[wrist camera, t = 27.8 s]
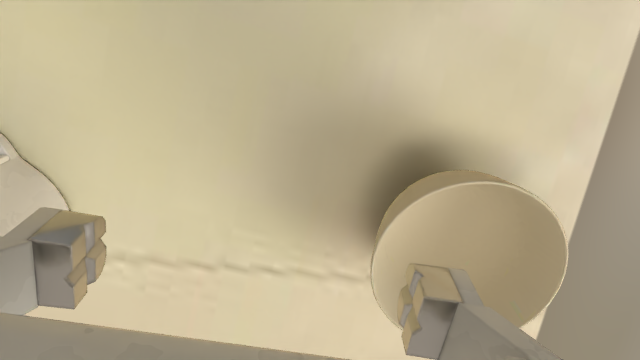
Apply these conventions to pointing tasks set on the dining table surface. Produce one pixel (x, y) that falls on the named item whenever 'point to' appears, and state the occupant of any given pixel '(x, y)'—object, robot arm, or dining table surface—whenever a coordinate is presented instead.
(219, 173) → the dining table surface
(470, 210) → the bowl
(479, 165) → the dining table surface
